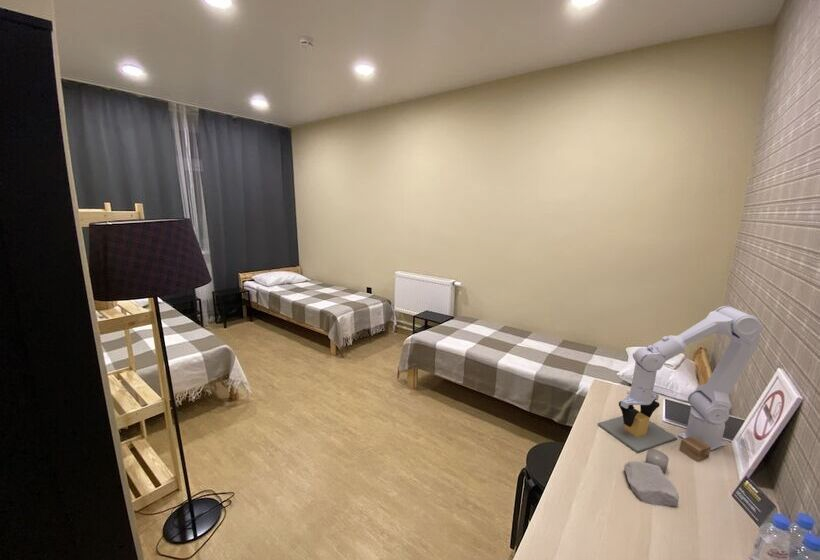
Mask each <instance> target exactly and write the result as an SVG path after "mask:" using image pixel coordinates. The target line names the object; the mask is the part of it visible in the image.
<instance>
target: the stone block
mask: <svg viewBox="0 0 820 560" xmlns="http://www.w3.org/2000/svg"><path fill="white" fill-rule="evenodd" d="M623 468H624V471H625V474H626V477H627V482H628V484H629V486H630V488H631V491H632V492H633V493H634V494H635V496H636V497H638V499H639V500H640V501H641V502H643V503H646V504H648V505H653V506H667V507H677V506H678V503H679V499H680V495H679V492H678V491H677V488H676V487H675V485H674V484H673V482H671V480H670V479H668V478H667V477H666V476H665V474H663V472H662V470H661V468H660V467H659V466H658V465H653V464H649V463H645V461H637V460H636V461H635V460H633V461H627V462H625V463H624V466H623Z"/></svg>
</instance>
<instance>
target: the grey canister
mask: <svg viewBox="0 0 820 560" xmlns="http://www.w3.org/2000/svg"><path fill="white" fill-rule="evenodd" d="M646 451H647V452H646V455H645V460H644V462H645V463H649V464H653V465H658V466H659V467H660V468H661V470H662V472H663V474H664V475H665V474H666V473H667V470H668V466H669V465H668V464H669V460H670V459H669V456H668V455H667V454H666V453H664V452H662V451H661V450H658V449H655V448H651V449H648V450H646Z"/></svg>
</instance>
